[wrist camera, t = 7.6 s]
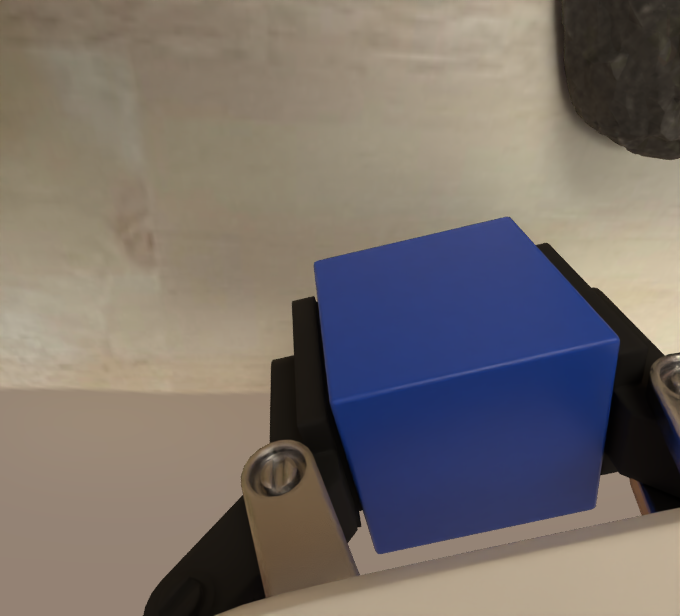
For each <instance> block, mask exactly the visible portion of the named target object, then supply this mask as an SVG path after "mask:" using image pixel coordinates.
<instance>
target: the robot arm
mask: <svg viewBox="0 0 680 616" xmlns="http://www.w3.org/2000/svg"><path fill="white" fill-rule="evenodd" d="M536 246H537V247H538V248H539V250H540V251H541V252H542V253H543V254H544V255H545V256H546V257H547V258H548V259H549V261H550V262H551V263H552V264H553V265H554V266H555V267H556V268H557V269H558V270H559V272H560V273H561V274H562V275H563V276H564V277H565V278H566V279H567V280H568V281H569V283H570V284H571V285H572V286H573V287H574V288H575V289H576V290H577V291H578V292H579V294H580V295H581V296H582V297H583V298H584V299H585V300H586V301H587V302H588V303H589V305H590V306H591V307H592V308H593V309H594V310H595V311H596V312H597V313H598V314H599V316H600V317H601V318H602V319H603V320H604V321H605V322H606V323H607V324H608V325H609V327H610V328H611V329H612V330H613V331H614V332H615V333H616V334H617V335H618V337H619V339H620V345H619V352H618V359H617V366H616V372H615V379H614V386H613V393H612V399H611V406H610V413H609V420H608V426H607V433H606V440H605V447H604V453H603V460H602V467H601V474H600V475H605V474H609V473H614V472H619V473H620V474H621V475H624V476H627V477H629V478H630V484H631V487H632V490H633V493H634V495H635V498H636V501H637V503H638V506H639V509H640V512H641V514H642V515H641V516H636V517H632V518H627V519H622V520H617V521H613V522H608V523H603V524H598V525H594V526H589V527H584V528H579V529H574V530H570V531H565V532H560V533H555V534H551V535H546V536H541V537H537V538H532V539H527V540H522V541H518V542H513V543H508V544H504V545H499V546H494V547H489V548H485V549H480V550H475V551H471V552H466V553H461V554H457V555H453V556H448V557H443V558H438V559H433V560H429V561H425V562H420V563H416V564H411V565H406V566H401V567H397V568H392V569H387V570H383V571H378V572H374V573H369V574H364V575H360V574H359V572H358V569H357V566H356V564H355V561H354V559H353V556H352V554H351V551H350V549H349V546H348V544H347V543H348V542H349V541H350V539H351V538H352V537H353V535H354V534H355V533H356V531H357V527H361V521H360V515H359V511H361V510H363V509H362V506H361V503H360V500H359V496H358V493H357V490H356V487H355V483H354V480H353V477H352V474H351V471H350V467H349V464H348V461H347V458H346V454H345V451H344V448H343V445H342V442H341V438H340V435H339V432H338V429H337V425H336V422H335V419H334V416H333V413H332V409H331V406H330V402H329V393H328V385H327V376H326V368H325V359H324V350H323V342H322V333H321V325H320V316H319V308H318V301H317V302H316V299H315V297H314V296H313V297H308V298H304V299H300V300H295V301H292V317H293V341H294V355H293V356H289V357H284V358H280V359H275V360H272V363H271V402H270V406H271V407H270V443H269V444H267V445H265V446H264V447H262V448H260V449H259V450H257V451H256V452H255V453H254V454H253V455H252V456H251V457H250V458H249V460H248V461H247V463H246V464H245V465H244V468H243V471H242V474H241V487H242V492H243V495H242V496H241V498H240V499H239V500H238V501H237V502H236V503H235V504H234V505H233V506H232V507H231V508H230V509H229V510H228V511H227V512H226V513H225V514H224V516H223V517H222V518H221V519H220V520H219V521H218V522H217V523H216V524H215V525H214V526H213V527H212V528H211V529H210V530H209V531H208V532H207V533H206V534H205V535H204V536H203V537H202V538H201V540H200V541H199V542H198V543H197V544H196V545H195V546H194V547H193V548H192V549H191V550H190V551H189V552H188V553H187V555H185V556H184V557H183V558H182V559H181V561H180V562H179V563H178V564H177V565H176V566H175V567H174V568H173V569H172V570H171V571H170V572H169V573H168V574H167V575H166V576H165V577H164V578H163V579H162V581H161V582H160V583H159V584H158V586H157V587H156V588H155V590H154V591H153V592H152V594H151V596H150V598H149V600H148V602H147V605H146V606H145V611H144V615H143V616H680V353H674V354H668V355H666V356H665V355H664V354H663V353H662V352H661V351H660V350H659V349H658V348H657V347H656V346H655V345H654V344H653V343H652V342H651V341H650V340H649V339H648V338H647V337H646V336H645V335H644V334H643V333H642V332H641V331H640V330H639V329H638V328H637V327H636V326H635V325H634V324H633V323H632V322H631V321H630V320H629V319H628V318H627V317H626V316H625V315H624V314H623V313H622V312H621V311H620V310H619V309H618V307H617V306H616V305H615V304H614V303H613V302H612V301H611V300H610V299H609V298H608V297H607V296H606V295H605V294H604V293H603V292H602V291H600V290H599V289H598V288H591V287H590V286H589V285H588V284H587V283H586V282H585V281H584V280H583V279H582V278H581V277H580V276H579V275H578V274H577V273H576V272H575V270H574V269H573V268H572V267H571V266H570V265H569V264H568V263H567V262H566V261H565V260H564V259H563V258H562V257H561V256H560V255H559V254H558V253H557V252H556V251H555V250H554V249H553V248H552V247H551V245H549V244H548V243H543V244H538V245H536Z"/></svg>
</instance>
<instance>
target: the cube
mask: <svg viewBox="0 0 680 616" xmlns="http://www.w3.org/2000/svg"><path fill="white" fill-rule="evenodd" d="M314 273H315V282H316V290H317V299H318V308H319V316H320V325H321V333H322V342H323V350H324V359H325V368H326V376H327V385H328V393H329V402H330V406H331V409H332V413H333V416H334V419H335V422H336V425H337V429H338V432H339V435H340V438H341V442H342V445H343V448H344V451H345V454H346V458H347V461H348V464H349V467H350V471H351V474H352V477H353V480H354V483H355V487H356V490H357V493H358V496H359V500H360V503H361V506H362V509H363V513H364V515H365V519H366V522H367V525H368V529H369V532H370V535H371V538H372V541H373V545H374V548H375V551H376V552H377V553H378V554H383V553H388V552H393V551H397V550H403V549H407V548H412V547H417V546H421V545H426V544H431V543H436V542H440V541H445V540H450V539H454V538H459V537H464V536H469V535H473V534H478V533H482V532H487V531H492V530H497V529H502V528H506V527H511V526H516V525H520V524H525V523H530V522H535V521H539V520H544V519H549V518H554V517H558V516H563V515H567V514H572V513H577V512H581V511H587V510H591V509H593V508H595V507H596V500H597V494H598V487H599V480H600V474H601V467H602V460H603V453H604V447H605V440H606V433H607V426H608V420H609V413H610V406H611V399H612V393H613V386H614V379H615V372H616V366H617V359H618V352H619V345H620V339H619V337H618V335H617V334H616V333H615V332H614V331H613V330H612V329H611V328H610V327H609V325H608V324H607V323H606V322H605V321H604V320H603V319H602V318H601V317H600V316H599V314H598V313H597V312H596V311H595V310H594V309H593V308H592V307H591V306H590V305H589V303H588V302H587V301H586V300H585V299H584V298H583V297H582V296H581V295H580V294H579V292H578V291H577V290H576V289H575V288H574V287H573V286H572V285H571V284H570V283H569V281H568V280H567V279H566V278H565V277H564V276H563V275H562V274H561V273H560V272H559V270H558V269H557V268H556V267H555V266H554V265H553V264H552V263H551V262H550V261H549V259H548V258H547V257H546V256H545V255H544V254H543V253H542V252H541V251H540V250H539V248H538V247H537V246H536V245H535V244H534V243H533V242H532V241H531V240H530V239H529V237H528V236H527V235H526V234H525V233H524V232H523V231H522V230H521V229H520V228H519V227H518V225H517V224H516V223H515V222H514V221H513V220H512V219H511V218H510V217H503V218H499V219H494V220H490V221H486V222H482V223H477V224H473V225H469V226H464V227H460V228H456V229H451V230H447V231H443V232H439V233H434V234H430V235H426V236H421V237H417V238H413V239H409V240H404V241H400V242H396V243H391V244H387V245H383V246H378V247H374V248H370V249H366V250H361V251H357V252H353V253H348V254H344V255H340V256H335V257H331V258H327V259H323V260H318V261H316V262H314Z"/></svg>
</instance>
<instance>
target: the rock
mask: <svg viewBox="0 0 680 616" xmlns="http://www.w3.org/2000/svg"><path fill="white" fill-rule="evenodd" d="M561 3H562V13H563V15H562V22H561V23H562V24H563V25H564V27H565V46H564V65H565V73H566V78H567V84H568V90H569V94H570V97H571V101H572V104H573V105H574V106H575V109H576V112H577V113H578V114H579V116H580V117H581V118H582V119H583V120H584V121H585V122H586V123H587V124H588V125H590V126H591V127H592V128H594V129H595V130H596V131H598V132H599V133H600V134H603V135H606V136H607V137H609V138H610V139H611V140H612V141H614V142H615V143H617V144H619V145H620V146H623V147H625V148H626V149H627V150H628V151H630V152H632V153H634V154H639V155H641V156H646V157H652V158H659V159H666V160H673V159H679V158H680V0H561Z"/></svg>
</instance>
